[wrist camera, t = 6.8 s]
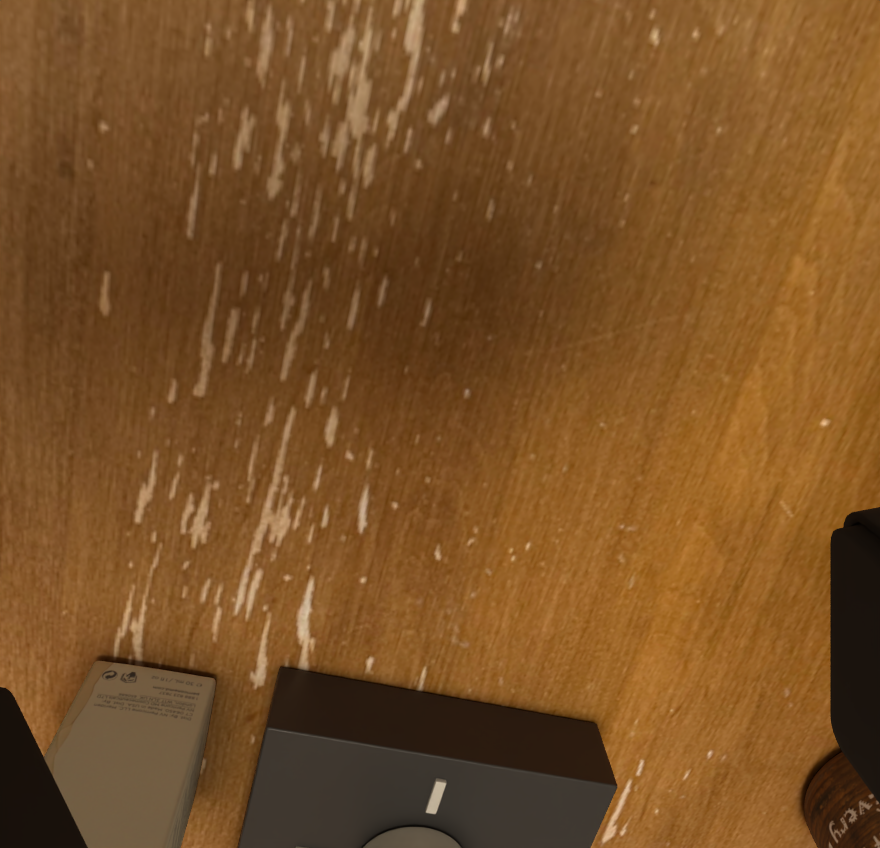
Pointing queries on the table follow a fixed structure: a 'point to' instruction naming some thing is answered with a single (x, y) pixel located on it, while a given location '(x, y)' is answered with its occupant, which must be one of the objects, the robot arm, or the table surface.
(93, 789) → the cosmetic box
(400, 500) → the table surface
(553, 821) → the panel
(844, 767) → the utensil holder
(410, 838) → the hob knob
